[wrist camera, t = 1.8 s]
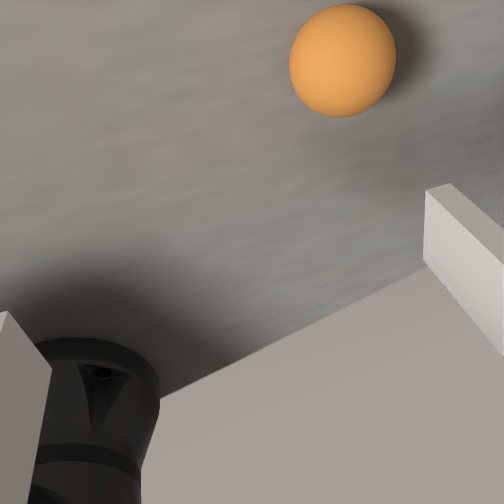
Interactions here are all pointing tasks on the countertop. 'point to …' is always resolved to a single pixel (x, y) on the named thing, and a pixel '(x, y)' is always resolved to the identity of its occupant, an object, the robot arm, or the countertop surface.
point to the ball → (342, 60)
